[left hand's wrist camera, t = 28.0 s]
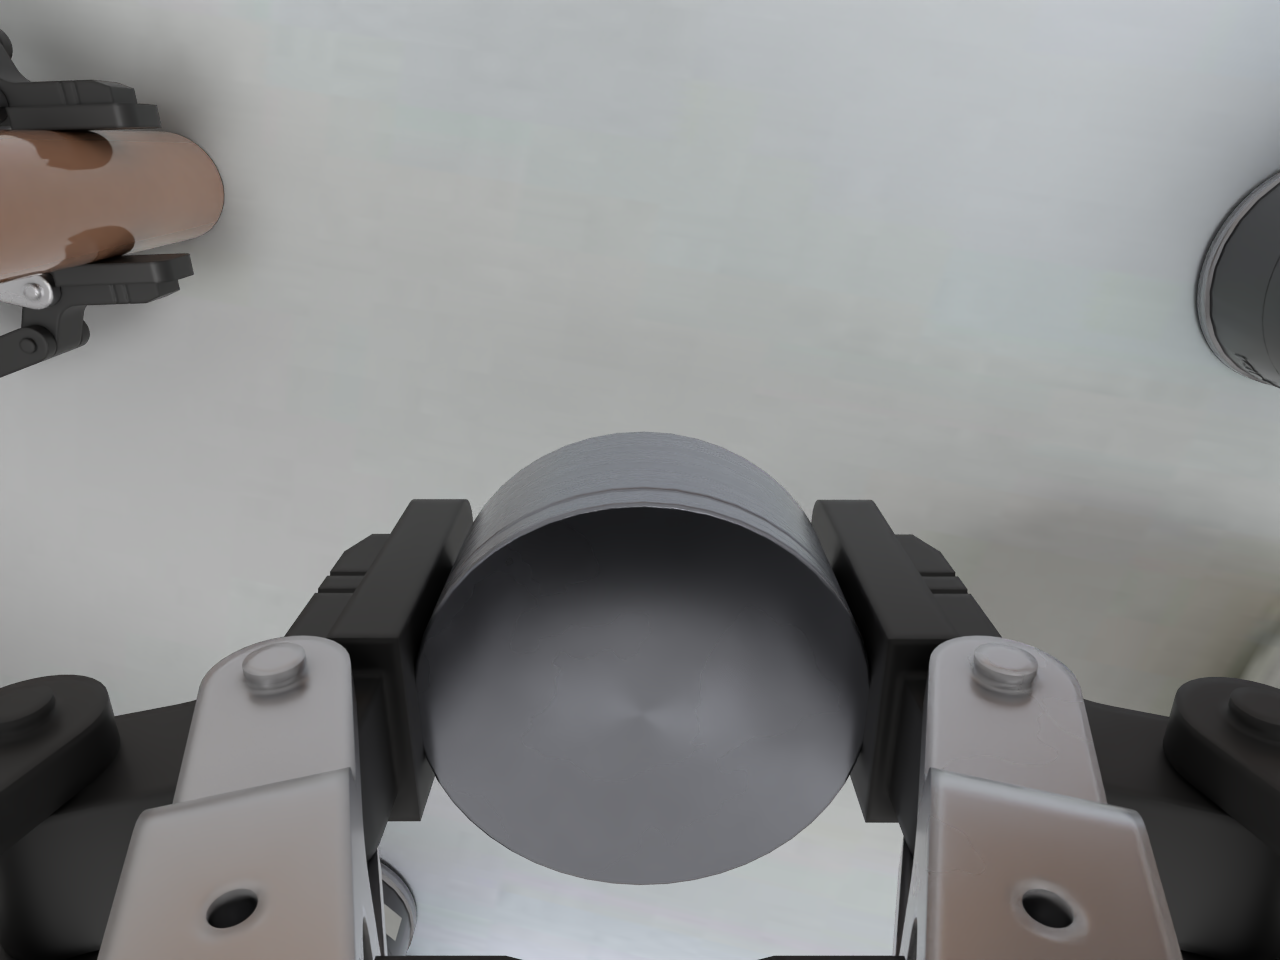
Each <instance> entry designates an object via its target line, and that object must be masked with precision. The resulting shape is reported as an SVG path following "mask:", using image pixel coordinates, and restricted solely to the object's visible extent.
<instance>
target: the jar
mask: <svg viewBox="0 0 1280 960" xmlns="http://www.w3.org/2000/svg"><path fill="white" fill-rule="evenodd" d="M223 202H224V192H223V185H222V181H221V178H220V175H219V172H218V170H217V168H216V166H215V165H214V163H213V161H212V160H211V159H210V157H209V156H208V155H207V154H206V153H205V152H204V151H203V149H201V148H200V147H199V146H198V145H197V144H195V143H194V142H192V141H191V140H189V139H187V138H185V137H183V136H181V135H178V134H175V133H171V132H163V131H71V130H0V284H4V283H8V282H12V281H16V280H20V279H25V278H29V277H33V276H37V275H42V274H46V273H50V272H54V271H59V270H63V269H67V268H71V267H76V266H80V265H84V264H88V263H92V262H97V261H101V260H105V259H109V258H114V257H118V256H122V255H126V254H131V253H135V252H139V251H143V250H148V249H152V248H156V247H160V246H164V245H169V244H173V243H177V242H181V241H186V240H190V239H194V238H197V237H199V236H201V235H203V234H205V233H206V232H208V231H209V230H210V229H211V228H212V227H213V226H214V225H215V223H216V222H217V220H218V218H219V216H220V214H221V211H222V208H223Z"/></svg>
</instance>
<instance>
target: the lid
mask: <svg viewBox="0 0 1280 960" xmlns="http://www.w3.org/2000/svg"><path fill="white" fill-rule="evenodd" d="M415 679H416V690H417V698H418V707H419V715H420V724H421V733H422V741H423V748H424V753H425V756H426V759H427V761H428V763H429V765H430V767H431V769H432V771H433V772H434V774H435V776H436V778H437V780H438V782H439V783H440V785H441V786H442V787H443V789H444V790H445V792H446V793H447V794H448V796H449V797H450V799H451V800H452V801H453V803H454V804H455V805H456V806H457V807H458V808H459V809H460V810H461V811H462V812H463V813H464V814H465V815H466V816H467V818H468V819H469V820H470V821H472V822H473V823H474V824H475V825H476V826H478V827H479V828H480V829H481V830H482V831H484V832H485V833H486V834H487V835H488V836H490V837H491V838H492V839H494V840H496V841H497V842H499V843H500V844H502V845H503V846H505V847H506V848H508V849H509V850H511V851H513V852H515V853H517V854H519V855H521V856H523V857H525V858H526V859H528V860H530V861H532V862H534V863H537V864H539V865H542V866H545V867H547V868H550V869H553V870H555V871H558V872H561V873H565V874H569V875H572V876H576V877H580V878H584V879H589V880H595V881H601V882H608V883H616V884H634V885H649V884H669V883H676V882H683V881H690V880H696V879H700V878H704V877H708V876H712V875H716V874H720V873H723V872H726V871H729V870H731V869H734V868H737V867H740V866H742V865H745V864H747V863H749V862H752V861H754V860H756V859H758V858H760V857H762V856H764V855H766V854H768V853H770V852H772V851H773V850H775V849H776V848H778V847H779V846H781V845H783V844H784V843H786V842H787V841H789V840H791V839H792V838H793V837H795V836H796V835H797V834H798V833H799V832H801V831H802V830H803V829H804V828H806V827H807V826H808V825H809V824H811V823H812V822H813V821H814V820H815V819H816V818H817V817H818V816H819V815H820V814H821V813H822V811H823V810H824V809H825V808H826V807H827V806H828V805H829V804H830V803H831V802H832V800H833V799H834V797H835V796H836V795H837V793H838V792H839V791H840V789H841V788H842V787H843V785H844V784H845V782H846V780H847V779H848V777H849V775H850V773H851V771H852V769H853V768H854V766H855V764H856V762H857V759H858V757H859V754H860V751H861V749H862V744H863V737H864V729H865V721H866V712H867V704H868V696H869V686H870V665H869V660H868V657H867V653H866V649H865V645H864V642H863V638H862V636H861V633H860V631H859V629H858V627H857V624H856V622H855V620H854V618H853V615H852V613H851V611H850V609H849V606H848V604H847V602H846V599H845V597H844V595H843V593H842V590H841V588H840V586H839V584H838V581H837V579H836V577H835V575H834V572H833V570H832V568H831V565H830V563H829V561H828V559H827V556H826V554H825V552H824V550H823V547H822V545H821V543H820V541H819V538H818V536H817V534H816V532H815V530H814V527H813V526H812V524H811V522H810V521H809V519H808V518H807V516H806V515H805V513H804V511H803V510H802V508H801V507H800V506H799V504H798V503H797V502H796V501H795V500H794V499H793V498H792V496H791V495H790V494H789V493H788V492H787V491H786V489H785V488H784V487H782V486H781V485H780V484H779V483H778V482H777V481H776V480H774V479H773V478H772V477H771V476H770V475H769V474H767V473H766V472H765V471H763V470H762V469H760V468H759V467H757V466H756V465H754V464H753V463H751V462H750V461H748V460H747V459H745V458H743V457H741V456H739V455H737V454H735V453H733V452H731V451H729V450H727V449H724V448H722V447H720V446H717V445H714V444H711V443H708V442H705V441H702V440H699V439H695V438H690V437H685V436H680V435H675V434H668V433H654V432H631V433H616V434H610V435H604V436H599V437H593V438H589V439H586V440H583V441H579V442H576V443H573V444H570V445H567V446H564V447H562V448H560V449H558V450H556V451H553V452H551V453H549V454H547V455H545V456H543V457H541V458H539V459H538V460H536V461H534V462H533V463H531V464H530V465H528V466H527V467H525V468H523V469H522V470H520V471H519V472H518V473H517V474H516V475H514V476H513V477H512V478H511V479H510V480H508V481H507V482H506V483H505V484H504V485H502V486H501V487H500V489H499V490H498V491H497V492H496V493H495V494H494V495H493V496H492V497H491V499H490V500H489V501H488V502H487V503H486V504H485V506H484V507H483V509H482V510H481V512H480V513H479V515H478V516H477V518H476V519H475V521H474V522H473V524H472V525H471V528H470V530H469V532H468V534H467V536H466V538H465V540H464V542H463V544H462V547H461V549H460V551H459V554H458V556H457V558H456V561H455V563H454V565H453V567H452V570H451V572H450V574H449V577H448V579H447V581H446V583H445V586H444V588H443V590H442V593H441V595H440V597H439V600H438V602H437V604H436V606H435V609H434V611H433V613H432V616H431V618H430V620H429V622H428V625H427V627H426V629H425V632H424V634H423V637H422V640H421V644H420V647H419V651H418V654H417V657H416V662H415Z"/></svg>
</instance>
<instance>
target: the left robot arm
mask: <svg viewBox="0 0 1280 960" xmlns="http://www.w3.org/2000/svg"><path fill="white" fill-rule="evenodd" d="M1197 309H1198V316H1199V321H1200V325H1201V329H1202V332H1203V334H1204V337H1205V339H1206V341H1207V343H1208V345H1209V347H1210V348H1211V349H1212V351H1213V352H1214V354H1215V355H1216V356H1217V357H1218V358H1219V359H1220V360H1221V361H1222V362H1223V363H1224V364H1225V365H1226V366H1228V367H1229V368H1231V369H1232V370H1234V371H1235V372H1237V373H1239V374H1241V375H1243V376H1245V377H1248V378H1250V379H1253V380H1256V381H1259V382H1261V383H1265V384H1269V385H1273V386H1275V387H1278V388H1280V172H1279V173H1277V174H1275V175H1274V176H1272V177H1271V178H1269V179H1268V180H1266V181H1265V182H1263V183H1262V184H1261V185H1259V186H1258V187H1257V188H1256V189H1254V190H1253V191H1252V192H1251V193H1250V194H1249V195H1248V196H1247V197H1246V198H1245V199H1243V200H1242V202H1241V203H1240V204H1239V205H1238V206H1237V207H1236V208H1235V209H1234V210H1233V212H1232V213H1231V214H1230V215H1229V217H1228V218H1227V219H1226V221H1225V222H1224V224H1223V225H1222V226H1221V228H1220V229H1219V231H1218V233H1217V235H1216V236H1215V238H1214V240H1213V242H1212V244H1211V246H1210V248H1209V250H1208V252H1207V255H1206V258H1205V260H1204V263H1203V266H1202V270H1201V274H1200V279H1199V284H1198V294H1197ZM472 524H473V517H472V510H471V506H470V503H469V501H468V500H467V499H413V500H412V501H411V502H410V503H409V505H408V507H407V508H406V510H405V511H404V513H403V515H402V516H401V518H400V519H399V521H398V523H397V524H396V526H395V527H394V529H393V531H392V532H391V534H372V535H370V536H368V537H367V538H365V539H364V540H362V541H360V542H359V543H357V544H356V545H354V546H352V547H351V548H349V549H348V550H346V551H345V552H344V553H343V554H342V556H341V557H340V559H339V560H338V561H337V563H336V564H335V566H334V567H333V568H332V570H331V571H330V576H327V577H326V578H325V580H324V581H323V583H322V584H321V585H320V587H319V588H318V593H315V594H314V595H313V597H312V598H311V599H310V601H309V602H308V604H307V605H306V607H305V608H304V609H303V611H302V612H301V614H300V615H299V616H298V618H297V619H296V621H295V622H294V623H293V625H292V626H291V628H290V629H289V631H288V632H287V633H286V635H285V636H284V637H280V638H275V639H270V640H266V641H262V642H259V643H255V644H253V645H250V646H248V647H245V648H243V649H240V650H238V651H236V652H234V653H232V654H231V655H229V656H227V657H226V658H224V659H222V660H221V661H220V662H218V663H217V664H216V665H214V666H213V667H212V668H211V669H210V670H209V671H208V672H207V674H206V675H205V677H204V678H203V680H202V682H201V685H200V687H199V691H198V696H197V700H194V701H191V702H186V703H182V704H177V705H172V706H167V707H161V708H156V709H151V710H146V711H140V712H135V713H130V714H125V715H119V716H114V713H113V710H112V706H111V703H110V699H109V695H108V692H107V690H106V687H105V686H104V685H103V684H102V683H101V682H99V681H97V680H95V679H93V678H89V677H86V676H79V675H55V676H46V677H40V678H34V679H30V680H26V681H22V682H18V683H15V684H11V685H8V686H5V687H2V688H0V960H521V959H516V958H512V957H508V956H388V955H387V941H386V927H385V914H384V900H383V887H382V873H381V864H380V857H379V851H378V845H379V843H380V840H381V838H382V835H383V832H384V830H385V827H386V824H387V821H421V818H422V815H423V811H424V808H425V805H426V802H427V799H428V796H429V793H430V789H431V786H432V783H433V780H434V777H435V774H434V772H433V771H432V769H431V767H430V765H429V763H428V761H427V759H426V756H425V753H424V748H423V741H422V733H421V724H420V715H419V707H418V698H417V690H416V679H415V662H416V657H417V654H418V651H419V647H420V644H421V640H422V637H423V634H424V632H425V629H426V627H427V625H428V622H429V620H430V618H431V616H432V613H433V611H434V609H435V606H436V604H437V602H438V600H439V597H440V595H441V593H442V590H443V588H444V586H445V583H446V581H447V579H448V577H449V574H450V572H451V570H452V567H453V565H454V563H455V561H456V558H457V556H458V554H459V551H460V549H461V547H462V544H463V542H464V540H465V538H466V536H467V534H468V532H469V530H470V528H471V525H472ZM811 524H812V526H813V527H814V530H815V532H816V534H817V536H818V538H819V541H820V543H821V545H822V547H823V550H824V552H825V554H826V556H827V559H828V561H829V563H830V565H831V568H832V570H833V572H834V575H835V577H836V579H837V581H838V584H839V586H840V588H841V590H842V593H843V595H844V597H845V599H846V602H847V604H848V606H849V609H850V611H851V613H852V615H853V618H854V620H855V622H856V624H857V627H858V629H859V631H860V633H861V636H862V638H863V642H864V645H865V649H866V653H867V657H868V660H869V665H870V686H869V696H868V704H867V712H866V721H865V729H864V737H863V744H862V749H861V751H860V754H859V757H858V759H857V762H856V764H855V766H854V768H853V769H852V771H851V773H850V776H851V780H852V783H853V786H854V789H855V792H856V795H857V798H858V801H859V804H860V807H861V810H862V813H863V816H864V819H865V822H880V823H899V824H900V827H901V830H902V832H903V835H904V837H903V844H902V851H901V857H900V864H899V873H898V887H897V900H896V914H895V927H894V941H893V955H892V956H772V957H768V958H764V959H759V960H1280V689H1278V688H1274V687H1271V686H1268V685H1265V684H1261V683H1257V682H1253V681H1248V680H1242V679H1237V678H1226V677H1207V678H1199V679H1195V680H1191V681H1189V682H1187V683H1185V684H1183V685H1182V686H1181V687H1180V688H1179V689H1178V691H1177V693H1176V695H1175V699H1174V702H1173V706H1172V710H1171V713H1170V717H1166V716H1161V715H1156V714H1151V713H1145V712H1140V711H1135V710H1130V709H1124V708H1119V707H1114V706H1109V705H1104V704H1100V703H1096V702H1092V701H1089V700H1085V699H1083V696H1082V691H1081V687H1080V685H1079V682H1078V680H1077V678H1076V677H1075V675H1074V674H1073V672H1072V671H1071V670H1070V669H1069V668H1068V667H1067V666H1066V665H1064V664H1063V663H1062V662H1060V661H1059V660H1058V659H1056V658H1054V657H1053V656H1051V655H1049V654H1048V653H1046V652H1044V651H1042V650H1040V649H1037V648H1035V647H1032V646H1030V645H1027V644H1024V643H1021V642H1018V641H1014V640H1010V639H1005V638H1002V637H1001V635H1000V634H999V633H998V631H997V630H996V628H995V627H994V626H993V624H992V623H991V622H990V620H989V619H988V617H987V616H986V615H985V613H984V612H983V610H982V609H981V608H980V606H979V605H978V603H977V602H976V601H975V599H974V598H973V597H972V595H971V594H968V593H967V588H966V587H965V585H964V584H963V583H962V581H961V580H960V578H959V577H955V572H954V570H953V569H952V567H951V566H950V565H949V563H948V562H947V560H946V559H945V558H944V556H943V555H942V553H941V552H940V551H938V550H936V549H935V548H933V547H931V546H930V545H928V544H927V543H925V542H923V541H922V540H920V539H919V538H917V537H915V536H914V535H895V534H894V532H893V531H892V529H891V528H890V526H889V525H888V523H887V521H886V520H885V518H884V517H883V515H882V514H881V512H880V510H879V509H878V507H877V506H876V504H875V503H874V502H873V501H872V500H817V501H816V503H815V505H814V509H813V514H812V522H811Z"/></svg>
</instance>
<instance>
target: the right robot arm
mask: <svg viewBox="0 0 1280 960" xmlns="http://www.w3.org/2000/svg"><path fill="white" fill-rule="evenodd" d="M12 53H13V50H12V44H11V42H10V40H9V38H8V36H7V35H6V34H5V33H4V32H3V31H2V30H1V29H0V130H71V131H93V130H120V129H146V128H162V127H161V123H160V118H159V114H158V109H157V105H149V104H137V100H136V95H135V91H134V89H133V88H130V87H128V86H125V85H122V84H119V83H116V82H107V81H97V80H76V81H49V82H30V81H29V80H27V79H26V78H25V77H23V76H22V75H21V74H20V72H19V71H18V70H17V68H16V67H15V65H14V63H13V62H12V60H11V58H12ZM191 275H194V272H193V268H192V263H191V259H190V254H155V255H127V256H118V257H114V258H109V259H105V260H101V261H97V262H92V263H88V264H84V265H80V266H76V267H71V268H67V269H63V270H59V271H54V272H50V273H46V274H42V275H37V276H33V277H29V278H25V279H20V280H16V281H12V282H8V283H4V284H0V301H1V302H6V303H10V304H14V305H19V306H23V309H22V324H21V328H20V329H17V330H15V331H12V332H10V333H7V334H5V335H2V336H0V378H1V377H3V376H6V375H8V374H11V373H13V372H16V371H19V370H21V369H24V368H26V367H29V366H31V365H34V364H37V363H39V362H42V361H44V360H47V359H49V358H52V357H54V356H57V355H60V354H62V353H65V352H67V351H70V350H72V349H75V348H78V347H80V346H82V345H84V344H86V343H87V341H88V339H89V335H90V333H89V328H88V326H87V324H86V323H85V322H84V321H83V315H84V310H85V307H86V306H87V305H107V304H129V303H130V304H135V303H148V302H151V301H154V300H157V299H160V298H162V297H165V296H168V295H170V294H172V293H174V292H176V291H178V290H180V288H179V284H178V279H181V278H185V277H188V276H191ZM380 864H381V873H382V887H383V900H384V914H385V927H386V941H387V955H388V956H406V953H407V950H408V948H409V946H410V944H411V941H412V937H413V933H414V930H415V926H416V919H417V913H416V906H415V902H414V899H413V896H412V894H411V892H410V890H409V889H408V887H407V886H406V884H405V883H404V882H403V881H402V879H401V878H400V877H399V876H398V875H397V874H396V873H395V872H393V871H392V870H391V869H390V868H388V867H387V866H386V865H384V864H383V863H381V862H380Z"/></svg>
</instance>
